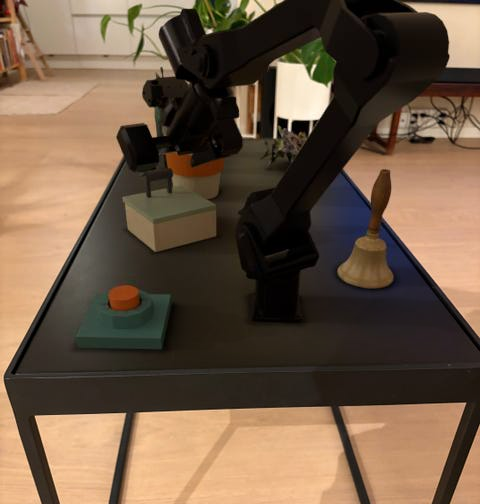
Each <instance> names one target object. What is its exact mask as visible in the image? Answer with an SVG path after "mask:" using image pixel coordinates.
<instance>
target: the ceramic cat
mask: <svg viewBox="0 0 480 504" xmlns="http://www.w3.org/2000/svg"><path fill="white" fill-rule="evenodd" d="M159 71H160V73H161V76H160V75H159V74H158V73H157V72H154V74H155V79H156V78H161V77H165V76H164V67H163V66H160V68H159ZM155 79H152V80H155ZM152 108H154V123H155V131H156V137H160V136H164V134H163V133H162V123H161V121H160V118H161V115H162V113H161V111H160V110H159V108H158V107H152ZM161 161H162V166H163V169H167V168H168V165H167V160H166V154H163V155H161Z"/></svg>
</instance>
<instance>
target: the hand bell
mask: <svg viewBox="0 0 480 504" xmlns="http://www.w3.org/2000/svg"><path fill="white" fill-rule="evenodd" d="M391 195H392V178H391V170H390V169H386V168H381V169H380V171H379V173H378V175H377V178H376V179H375V181H374V183H373V186H372V187H371V193H370V210H371V211H370V212H371V213H370V219H369V223H368V227H367V231H366V235H365V236H362V237H361V236H360V237H359V238H357V239H356V241H355V242H354V246H353V249H352V251H351V253H350V256H349V257H348V259H347V260H346V261H344V262H343V263H341V264H340V265H339V266H338V268H337V275H338V277H339V278H340V279H341V280H342V281H343V282H345V283H346V284H349V285H351V286H354V287H358V288H362V289H370V290H371V289H374V290H375V289H381V288H387V287H388V286H389V285H391V284H392V283H393V281H394V274H393V272H392V270H391V269H390V268H389V266H388V263H387V243H386V242H385V240H383V239H381V238H380V237H379V236H380V232H381V225H382V219H383V215H384V213H385V211H386V209H387V207H388V205H389V203H390V199H391Z"/></svg>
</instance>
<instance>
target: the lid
mask: <svg viewBox="0 0 480 504" xmlns="http://www.w3.org/2000/svg"><path fill="white" fill-rule="evenodd" d="M172 177H173V171H172V169H171V168H167V169H164V168H162V169H156V170H154V171H153V172H151V173H149V174H147V175H145V176H143V177H142V180H143V182H144V186H145V187H144V188H145V189H144V190H145V192H140V193H136V194H135V193H134V194H132V195H125V196H122V202H123V203H124V204H125V203H126V204H127V205H128V206H130V207H131V208H132V209H134V210H135V211H136V212H138V213H139V214H140V215H142V216H143V217H144V218H146V219H147V220H148V221H150V222H151V223H152V224H156V223H160V222H164V221H168V220H173V219H177V218H181V217H185V216H190V215H194V214H198V213H203V212H207V211H211V210H215V209H216V210H217V204H215V203H214V202H212V201H210V199H205V198H204V197H202V196H200V195H198V194H197V193H195V192H193V191H192V190H190V189H188V188H186V187H185V186H183V185H180V186H175V187H173V181H172ZM162 180H165V183H166V188H161V189H155V190H152V187H151V186H152V185H151V182H155V181H162Z"/></svg>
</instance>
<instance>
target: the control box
mask: <svg viewBox="0 0 480 504" xmlns="http://www.w3.org/2000/svg"><path fill="white" fill-rule="evenodd" d="M138 291H139V298H140V305H139V306H138V307H137V308H135V309H132V310H128V311H116V310H113V309H112V308H111V307H110V300H109V292H96V293H95V294H94V297H93V299H92V301H91V303H90V305H89V307H88V310H87V311H86V314H85V315H84V318H83V320H82V323H81V324H80V325H79V326H80V327H79V329H78V331H77V334H76V335H75V341H76V346H77V348H78V349H116V350H117V349H119V350H120V349H123V350H124V349H125V350H131V349H132V350H163V346H164V341H165V337H166V332H167V328H168V323H169V320H170V315H171V310H172V305H173V304H172V303H173V301H172V294H169V293H167V294H165V293H164V294H162V293H161V294H160V293H149V292H147V291H144V290H142V289H138Z"/></svg>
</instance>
